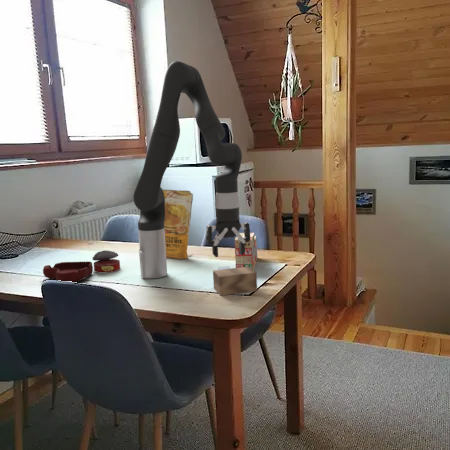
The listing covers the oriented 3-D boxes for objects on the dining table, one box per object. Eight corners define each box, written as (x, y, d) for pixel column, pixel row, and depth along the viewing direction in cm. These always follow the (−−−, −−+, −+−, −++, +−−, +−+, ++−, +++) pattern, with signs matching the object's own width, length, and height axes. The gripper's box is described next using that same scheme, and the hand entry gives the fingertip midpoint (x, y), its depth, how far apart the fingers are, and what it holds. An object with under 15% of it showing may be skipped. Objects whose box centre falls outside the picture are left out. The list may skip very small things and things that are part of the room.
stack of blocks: (242, 258, 199) (241, 228, 197) (257, 258, 198) (256, 228, 196) (235, 272, 178) (234, 239, 176) (252, 272, 177) (251, 238, 175)
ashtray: (105, 278, 178) (104, 264, 177) (63, 288, 167) (61, 274, 166) (81, 270, 191) (80, 257, 190) (40, 279, 179) (38, 266, 179)
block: (221, 274, 162) (217, 267, 171) (221, 286, 162) (218, 278, 172) (233, 273, 162) (229, 266, 172) (233, 285, 163) (229, 277, 173)
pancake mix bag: (162, 252, 215) (158, 188, 210) (197, 256, 204) (193, 189, 199) (151, 255, 209) (147, 190, 205) (187, 260, 199) (183, 191, 194)
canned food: (95, 283, 187) (81, 261, 187) (110, 274, 197) (96, 252, 196) (116, 272, 183) (102, 249, 182) (130, 262, 192) (116, 241, 191)
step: (220, 295, 152) (219, 276, 151) (213, 288, 159) (213, 270, 158) (257, 290, 155) (256, 272, 154) (248, 284, 162) (248, 266, 161)
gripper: (208, 209, 152) (210, 260, 155) (252, 206, 156) (253, 255, 158) (203, 206, 159) (205, 255, 162) (244, 203, 163) (246, 251, 166)
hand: (229, 255), depth 160 cm, fingers open, 8 cm apart
